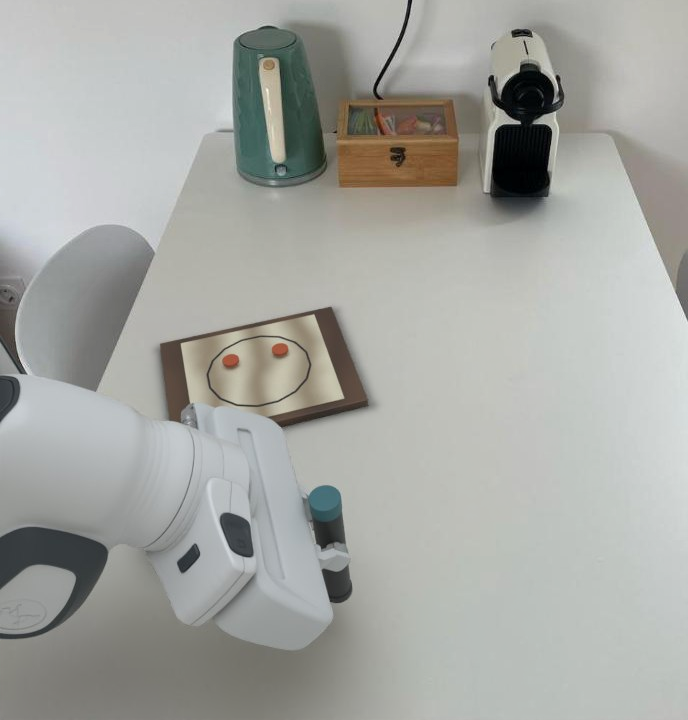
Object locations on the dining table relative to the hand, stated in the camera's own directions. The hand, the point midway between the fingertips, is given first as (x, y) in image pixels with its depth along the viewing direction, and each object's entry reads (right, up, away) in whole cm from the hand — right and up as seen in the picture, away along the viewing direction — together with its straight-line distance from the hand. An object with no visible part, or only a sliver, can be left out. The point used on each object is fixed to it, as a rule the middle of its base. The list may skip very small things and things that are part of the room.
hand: (338, 540), depth 66 cm
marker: (0, -5, +5) cm, 7 cm away
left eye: (-15, +15, +31) cm, 38 cm away
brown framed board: (-12, +13, +31) cm, 36 cm away
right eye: (-10, +16, +32) cm, 37 cm away
